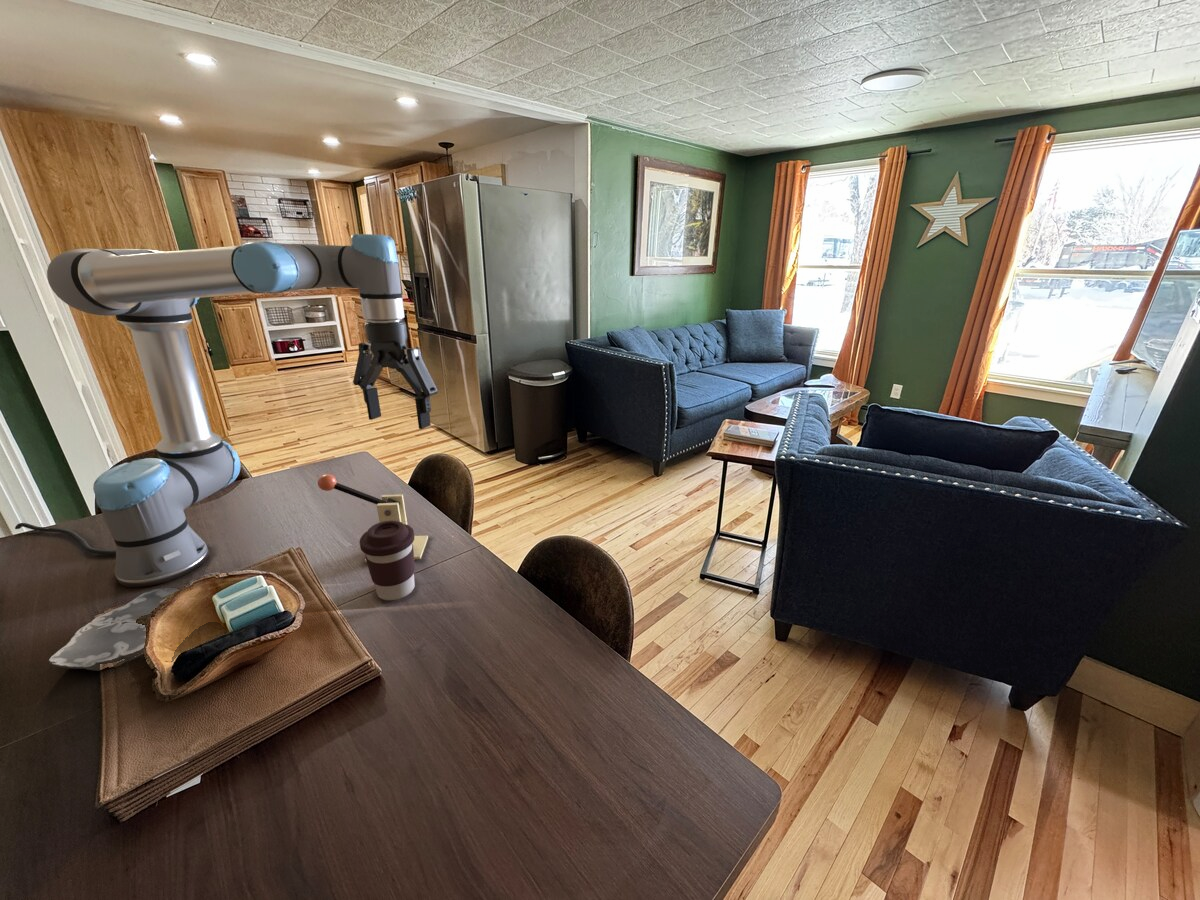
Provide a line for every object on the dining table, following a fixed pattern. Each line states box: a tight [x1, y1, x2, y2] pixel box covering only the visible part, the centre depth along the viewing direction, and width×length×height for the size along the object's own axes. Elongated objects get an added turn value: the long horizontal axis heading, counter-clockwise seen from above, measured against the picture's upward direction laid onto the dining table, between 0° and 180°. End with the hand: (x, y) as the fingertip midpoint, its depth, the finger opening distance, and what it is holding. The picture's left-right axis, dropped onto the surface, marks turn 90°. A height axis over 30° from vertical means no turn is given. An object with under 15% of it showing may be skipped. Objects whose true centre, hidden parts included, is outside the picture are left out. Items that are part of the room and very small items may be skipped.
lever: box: [317, 473, 400, 506], centre depth 105 cm, size 17×4×4 cm, turn 98°
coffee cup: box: [359, 520, 416, 601], centre depth 96 cm, size 10×10×15 cm
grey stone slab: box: [48, 587, 181, 672], centre depth 85 cm, size 20×17×3 cm
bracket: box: [364, 493, 429, 563], centre depth 109 cm, size 12×9×14 cm
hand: (399, 422), depth 101 cm, fingers open, 13 cm apart
